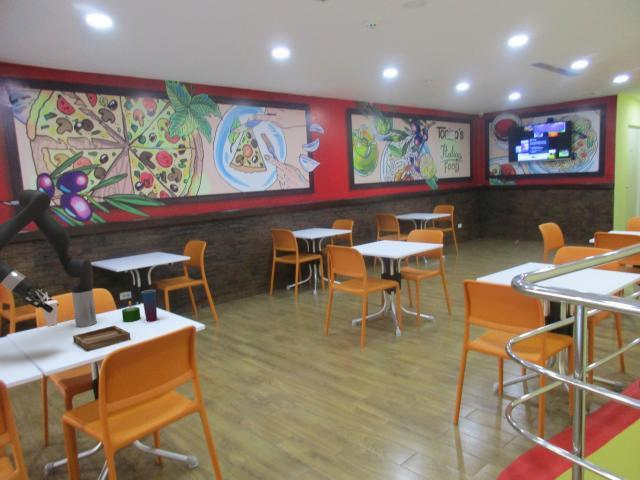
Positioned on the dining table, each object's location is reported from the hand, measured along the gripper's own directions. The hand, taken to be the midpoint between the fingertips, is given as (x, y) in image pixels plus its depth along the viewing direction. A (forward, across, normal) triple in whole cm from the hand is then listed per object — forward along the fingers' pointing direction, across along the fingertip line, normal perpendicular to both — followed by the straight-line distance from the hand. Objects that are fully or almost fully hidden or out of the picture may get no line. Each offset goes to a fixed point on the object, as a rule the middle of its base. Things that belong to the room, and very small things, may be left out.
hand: (54, 308), depth 188 cm
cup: (+37, +32, -10) cm, 50 cm away
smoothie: (+4, 0, +6) cm, 7 cm away
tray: (+23, +8, +3) cm, 25 cm away
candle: (+30, +38, -2) cm, 48 cm away
